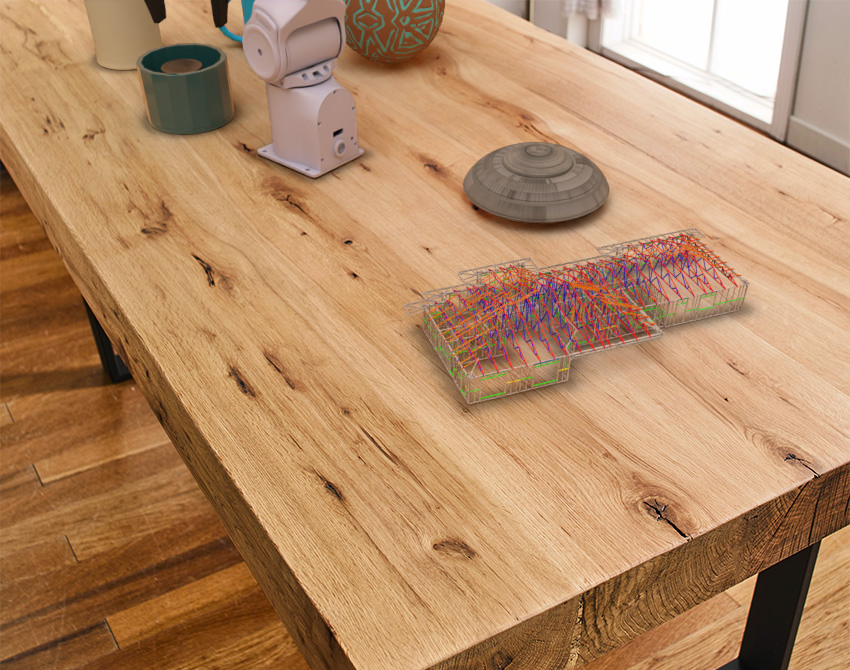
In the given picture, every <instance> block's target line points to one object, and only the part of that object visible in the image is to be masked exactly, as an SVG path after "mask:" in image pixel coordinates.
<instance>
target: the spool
mask: <svg viewBox="0 0 850 670" xmlns="http://www.w3.org/2000/svg"><path fill="white" fill-rule="evenodd" d="M202 69H203V66H202V63H201V62H200V61H197V60H194V59H177V60H172V61H169V62H167V63H165V64H163V65H162V66H161V73H167V74H173V73H187V72H193V71H198V70H202Z"/></svg>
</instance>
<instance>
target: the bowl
mask: <svg viewBox="0 0 850 670" xmlns="http://www.w3.org/2000/svg"><path fill="white" fill-rule="evenodd" d="M177 59H194V60H197V61H200V62H201V63H202V66H203V69H202V70H198V71H193V72H187V73H173V74H167V73H161V66H162V65H163V64H165V63H167V62H169V61H172V60H177ZM136 66H137V69H136V70H137V75H138V79H139V85H140V88H141V94H142V98H143V103H144V108H145V113H146V117H147V118H148V123H149V124H150V126H151V127H152V128H153V129H155V130H157V131H159V132H162V133H165V134H170V135H171V134H172V135H195V134H202V133H207V132H211V131H215V130H217V129H220V128H222V127H224V126H225V125H227V124H229V123H230V122H231V121H232V120H233V118H234V117H235V105H234V104H235V102H234V96H233V90H232V83H231V76H230V70H229V69H230V68H229V64H228V57H227V53H226V52H225V51H224V50H223V49H222V48H220V47H218V46H215V45H212V44H208V43H200V42H184V43H183V42H182V43H173V44H166V45H163V46H161V47H158V48H155V49H152V50H149V51H147V52H146V53H144V54H143V55H141V56H140V57H139V58H138V60H137V62H136Z"/></svg>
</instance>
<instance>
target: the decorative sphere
mask: <svg viewBox="0 0 850 670" xmlns="http://www.w3.org/2000/svg"><path fill="white" fill-rule="evenodd" d="M343 1H344V3H345V4H346V11H345V17H344V25H345V33H346V45H347V46H348V47H349V48H350V49H351V50H352V51H353V52H355V53H356V54H357V55H359V57H362V58H364V59H366V60H368V61H371V62H374V63H378V64H385V65H386V64H387V65H393V64H400V63H403V62H407V61H410V60H411V59H413V58H416V57H417V56H418V55H420V54H421V53H423V52H424V51H425V50H426V49H427V48H428V47H429V45H431V43H432V42H433V41H434V40H435V38H436V36H437V35H438V34H439V31H440V28H441V26H442V23H443V19H444V16H445V9H446V0H343Z"/></svg>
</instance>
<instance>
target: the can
mask: <svg viewBox="0 0 850 670" xmlns="http://www.w3.org/2000/svg"><path fill="white" fill-rule="evenodd" d="M83 3H84V7H85V11H86V15H87V20H88V23H89V28H90V32H91V35H92V36H91V37H92V40H93V45H94V47H95V48H94V49H95V54H96V63H97V64H98V65H99V66H101V67H102V68H106V69H109V70H114V71H130V70H131V71H132V70H133V71H134V70H137V66H136V62H137V60H138V58H139V57H140V56H141V55H143V54H144V53H146V52H147V51H149V50H152V49H155V48H158V47H161V46H164V44H163V39H162V33H161V28H160V23H159V24H158V23H154V22H153V19H152V17H151V15H150V12H149V10H148V8H147V6H146V4H145V2H144V0H83Z"/></svg>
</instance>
